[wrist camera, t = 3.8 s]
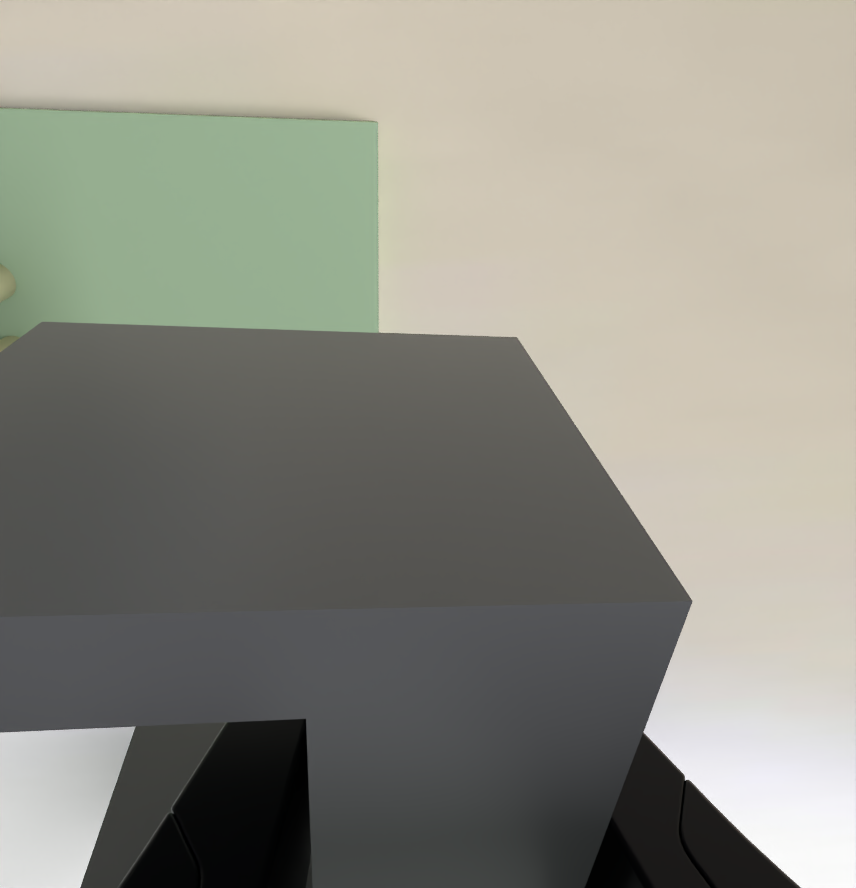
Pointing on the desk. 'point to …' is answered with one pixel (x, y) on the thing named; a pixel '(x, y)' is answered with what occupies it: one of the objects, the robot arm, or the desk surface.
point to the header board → (187, 221)
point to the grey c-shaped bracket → (331, 588)
